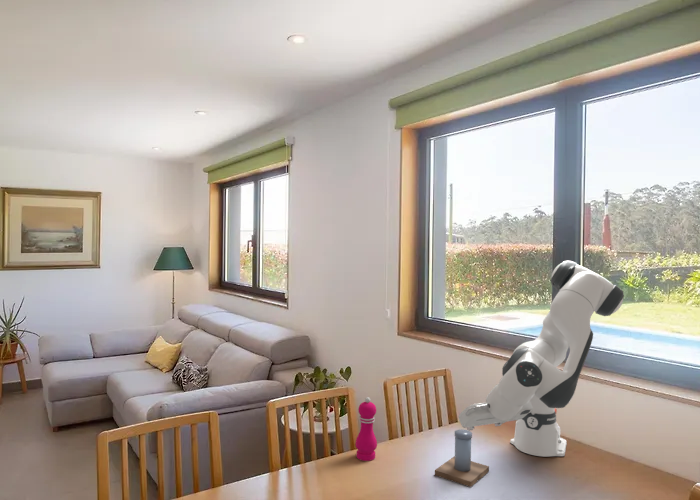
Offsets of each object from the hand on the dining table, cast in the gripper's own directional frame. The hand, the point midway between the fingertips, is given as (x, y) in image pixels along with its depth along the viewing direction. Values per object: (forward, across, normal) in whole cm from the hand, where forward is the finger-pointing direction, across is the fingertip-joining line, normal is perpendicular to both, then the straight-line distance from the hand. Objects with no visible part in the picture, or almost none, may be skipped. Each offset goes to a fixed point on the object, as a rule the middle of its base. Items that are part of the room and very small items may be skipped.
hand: (482, 426), depth 152 cm
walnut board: (+20, -1, -6) cm, 21 cm away
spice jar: (+19, 0, -4) cm, 20 cm away
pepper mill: (+34, -26, +9) cm, 43 cm away
